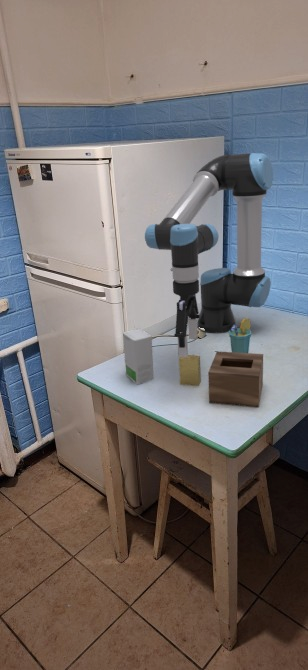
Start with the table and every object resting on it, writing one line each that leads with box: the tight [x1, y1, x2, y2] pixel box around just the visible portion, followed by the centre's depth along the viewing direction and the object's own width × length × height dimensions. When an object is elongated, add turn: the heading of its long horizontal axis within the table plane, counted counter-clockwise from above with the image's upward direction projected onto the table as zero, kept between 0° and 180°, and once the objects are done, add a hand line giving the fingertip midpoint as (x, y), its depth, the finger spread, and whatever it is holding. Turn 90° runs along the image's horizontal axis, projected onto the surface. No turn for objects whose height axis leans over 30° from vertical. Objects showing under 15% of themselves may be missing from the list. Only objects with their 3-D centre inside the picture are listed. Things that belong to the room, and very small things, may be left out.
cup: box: [228, 318, 252, 353], centre depth 156 cm, size 14×8×15 cm, turn 150°
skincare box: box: [122, 327, 154, 385], centre depth 151 cm, size 8×7×16 cm
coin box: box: [207, 351, 264, 408], centre depth 138 cm, size 14×14×10 cm
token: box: [178, 354, 202, 387], centre depth 146 cm, size 3×6×9 cm, turn 73°
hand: (188, 347), depth 143 cm, fingers open, 13 cm apart
